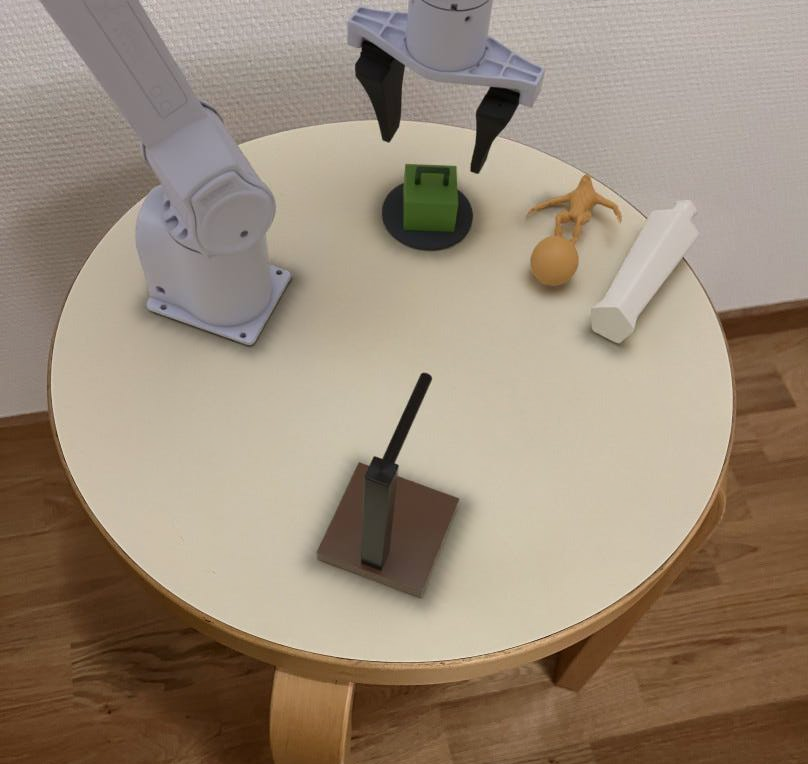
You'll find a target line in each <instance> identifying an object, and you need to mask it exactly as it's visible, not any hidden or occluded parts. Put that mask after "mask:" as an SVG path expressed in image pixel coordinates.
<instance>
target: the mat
mask: <svg viewBox="0 0 808 764" xmlns="http://www.w3.org/2000/svg"><path fill="white" fill-rule="evenodd" d="M403 187H404V182H402V183H400V184H398V185H397V186H396V187H394V188H393V189H391V190H390V192H389V193H388V194H387V195H386V197H385V199H384V200H383V204H382V208H381V218H382V222H383V225H384V227H385V229H386V230H387V233H389V235H390V236H392V237H393V239H395V240H396V241H398V242H399V243H401V244H402V245H404V246H406V247H409V248H412V249H415V250H420V251H427V252H432V251H433V252H434V251H441V250H446V249H448V248H452V247H453V246H456V245H458V244H459V243H461V242H462V241H463V240H464V239H465V238H466V237H467V235H468V234H469V232H470V231H471V229H472V225H473V221H474V211H473V208H472V204H471V203H470V201H469V199H468V197H466V195H465V194H464V193H463V192H462V191H461V190H460V189H458V209H457V216H456V223H455V229H454V232H444V231H416V230H404V224H403Z"/></svg>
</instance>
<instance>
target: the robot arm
mask: <svg viewBox="0 0 808 764" xmlns="http://www.w3.org/2000/svg"><path fill="white" fill-rule="evenodd" d="M38 1H39V2H40V4H41V6H42V7H43V8H44V9H45V11H46V12H47V13H48V15H49V16H50V18H51V19H52V20H53V22H54V23H55V25H56V26H57V27H58V28H59V30H60V32H61V33H62V34H63V35H64V37H65V38H66V39H67V41H68V42H69V43H70V45H71V46H72V48H73V49H74V51H75V52H76V53H77V55H78V56H79V57H80V59H81V60H82V61H83V63H84V64H85V66H86V67H87V68H88V70H89V71H90V73H91V74H92V75H93V77H94V78H95V80H96V81H97V82H98V83H99V85H100V87H102V89H103V90H104V92H105V93H106V95H107V96H108V97H109V99H110V100H111V101H112V103H113V104H114V106H115V107H116V108H117V110H118V111H119V112H120V114H121V116H122V117H123V118H124V119H125V121H126V122H127V124H128V125H129V126H130V127H131V129H132V130H133V132H134V133H135V134H136V136H137V138H139V148H140V152H141V157H142V158H143V160H144V162H145V163H146V165H147V166H148V168H149V169H150V170H151V171H153V173H154V175H155V176H156V178H157V180H158V181H159V183H160V184H158V185H156V186H155V187H153V188H152V189H151V190H150V191H149V192H148V194H147V195H146V197H145V198H144V200H143V202H142V203H141V206H140V209H139V211H138V215H137V218H136V223H135V231H134V232H135V233H134V237H135V239H134V241H135V242H134V243H135V248H136V252H137V256H138V259H139V262H140V265H141V269H142V272H143V275H144V279H145V283H146V286H147V289H148V293H149V295H150V296H149V298H148V300H147V301H146V309H148V311H150V312H153V313H156V314H158V315H162V316H163V317H167V318H170V319H173V320H176V321H179V322H181V323H184V324H187V325H190V326H192V327H195V328H198V329H201V330H204V331H206V332H210V333H213V334H216V335H218V336H221V337H224V338H226V339H229V340H233V341H235V342H238V343H241V344H243V345H246V346H251V345H254V344H255V343H256V341H257V339H258V338H259V335H260V334H261V332H262V330H263V328H264V327H265V325H266V323H267V322H268V320H269V319H270V316H271V315H272V313H273V311H274V309H275V308H276V306H277V304H278V302H279V300H280V298H281V297H282V295H283V294H284V291H285V289H286V288H287V286H288V284H289V282H290V281H291V278H292V274H291V272H290V271H289V270H287V269H284V268H281V267H278V266H275V265H273V264H270V259H269V250H268V242H267V241H268V240H267V232H268V231H269V229H270V228H271V226H272V224H273V222H274V219H275V217H276V213H277V212H276V211H277V201H276V199H275V196H274V193H273V191H272V190H271V188H269V186H268V185H267V184H266V182H264V181H262V179H261V177H260V176H259V174H257V172H256V170H255V168H254V167H253V166H252V164H251V162H250V161H249V159H248V158H247V157H246V155H245V154H244V152H243V151H242V150H241V147H240V146H239V145H238V144H237V142H236V140H235V139H234V137H233V135H232V134H231V133H230V131H229V129H228V128H227V127H226V125H225V121H224V119H223V117H222V116H221V114H220V112H219V110H218V109H217V108H216V107H215V106H214V105H213V104H211V103H210V102H209V101H207V100H205V99H203V98H201V97H198V96H197V95H196V93H195V91H194V90H193V88H192V86H191V85H190V83H189V81H188V80H187V78H186V76H185V75H184V73H183V71H182V70H181V68H180V66H179V64H178V63H177V61H176V59H175V58H174V57H173V54H172V53H171V51H170V50H169V49H168V47H167V45H166V43H165V41H164V40H163V38H162V37H161V35H160V33H159V32H158V30H157V28H156V27H155V25H154V23H153V21H152V20H151V18H150V16H149V15H148V13H147V12H146V10H145V8H144V7H143V5H142V4H141V2H140V0H38ZM493 5H494V0H408V6H407V12H406V11H405V12H404V11H393V10H383V9H375V8H371V7H366V6H363V5H360V4H359V5H357V6H356V8H355V9H354V11H353V12H352V14H351V15H350V17H349V18H348V19H347V23H346V24H347V26H346V27H347V29H346V30H347V33H346V38H347V42H346V43H347V44H346V45H348V46H350V47H353V48H354V49H361V51H360V52H359V57H358V59H357V60H356V62H355V64H354V73H355V78H356V79H357V80H358V82H359V83H360V85H361V86H362V88H363V89H364V91H365V93H366V95H367V96H368V98H369V100H370V103H371V106H372V108H373V110H374V113H375V114H374V115H375V116H376V120H377V124H378V127H379V132H380V136H381V140H382V142H385V143H388V144H390V143H391V141H392V140H393V138H394V136H395V135H396V133H397V131H398V130H399V128H400V125H401V117H402V106H403V105H402V102H403V101H402V100H403V99H402V97H403V82H404V76H405V69H406V67H407V68H408V69H409V70H411V71H412V72H414V73H415V74H417V75H419V76H420V77H422V78H425V79H427V80H429V81H433V82H437V83H443V84H453V85H454V84H455V85H466V86H479V87H489V88H488V90H487V92H486V93H485V94H484V96H483V98H482V100H481V101H480V103H479V105H478V107H477V108H476V111H475V141H474V142H475V143H474V147H473V152H472V155H471V161H470V168H469V172H470V173H473V174H475V175H479V174H480V173H481V171H482V169H483V167H484V165H485V163H486V162H487V160H488V156H489V153H490V151H491V147H492V144H493V143H494V141H495V140H496V138H497V137H498V136H499V135H500V134H501V132H502V131H504V130H505V128H506V127H507V126H508V124H509V123H510V122H511V121H512V118H513V117H514V115H515V113H516V111H517V109H518V107H519V105H522V106H525V107H528V108H530V109H531V108H533V107H534V104H535V103H536V101H537V99H538V97H539V95H540V93H541V91H542V86H543V82H544V79H545V74H546V73H545V72H546V67H544V66H542V65H538V64H536V63H534V62H532V61H529V60H528V59H526V58H524V57H523V56H522V55H520V54H518V53H516V52H515V51H514V50H512V49H510V48H509V47H508V46H506V45H504V44H503V43H501V42H500V41H498V40H497V39H495V38H494V37H492V36H491V35H489V28H490V23H491V15H492V10H493Z"/></svg>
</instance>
